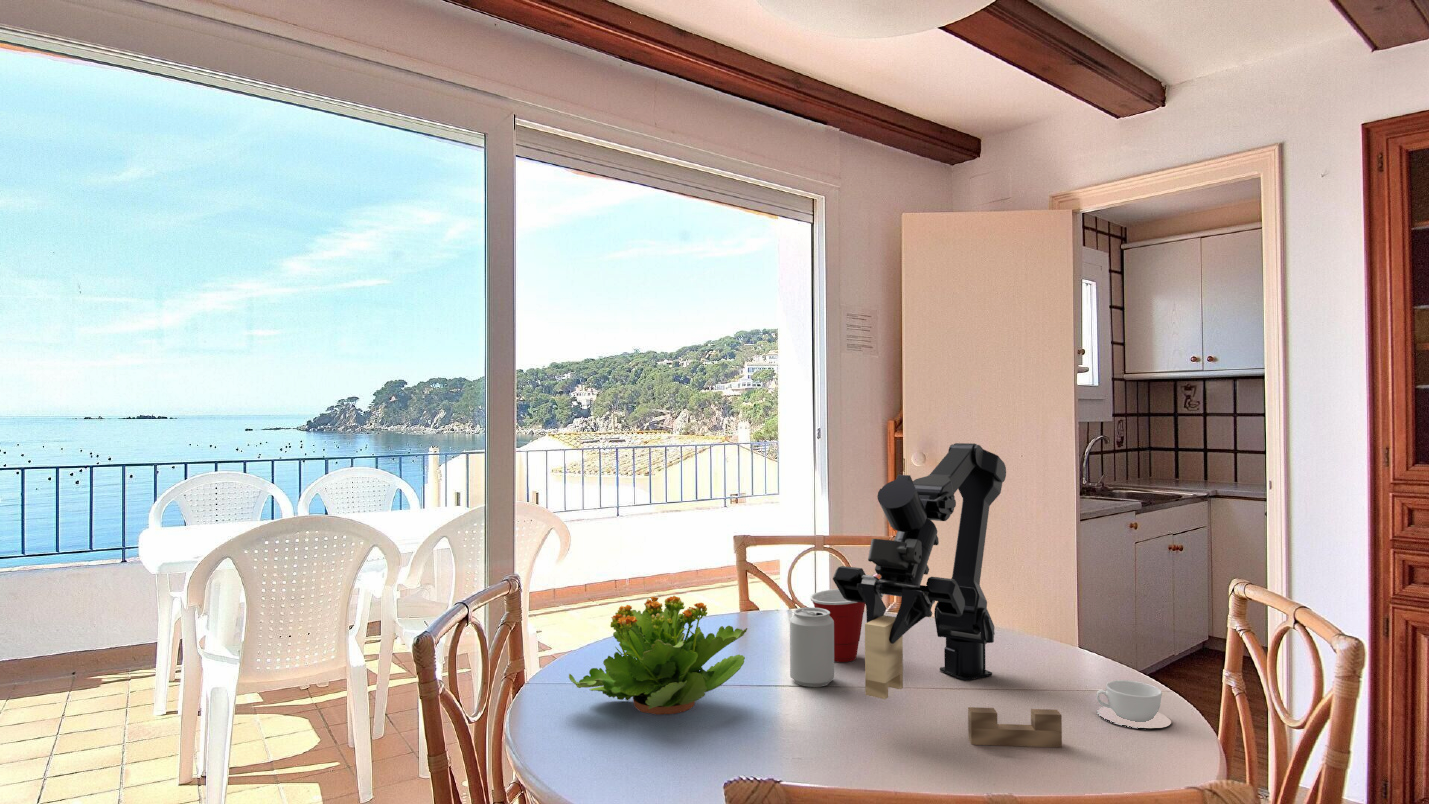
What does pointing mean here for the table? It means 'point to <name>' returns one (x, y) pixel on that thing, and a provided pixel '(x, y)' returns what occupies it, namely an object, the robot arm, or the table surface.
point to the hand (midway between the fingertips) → (879, 640)
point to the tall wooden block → (882, 658)
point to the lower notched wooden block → (1015, 729)
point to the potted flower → (663, 658)
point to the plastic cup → (842, 622)
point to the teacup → (1131, 700)
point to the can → (812, 647)
